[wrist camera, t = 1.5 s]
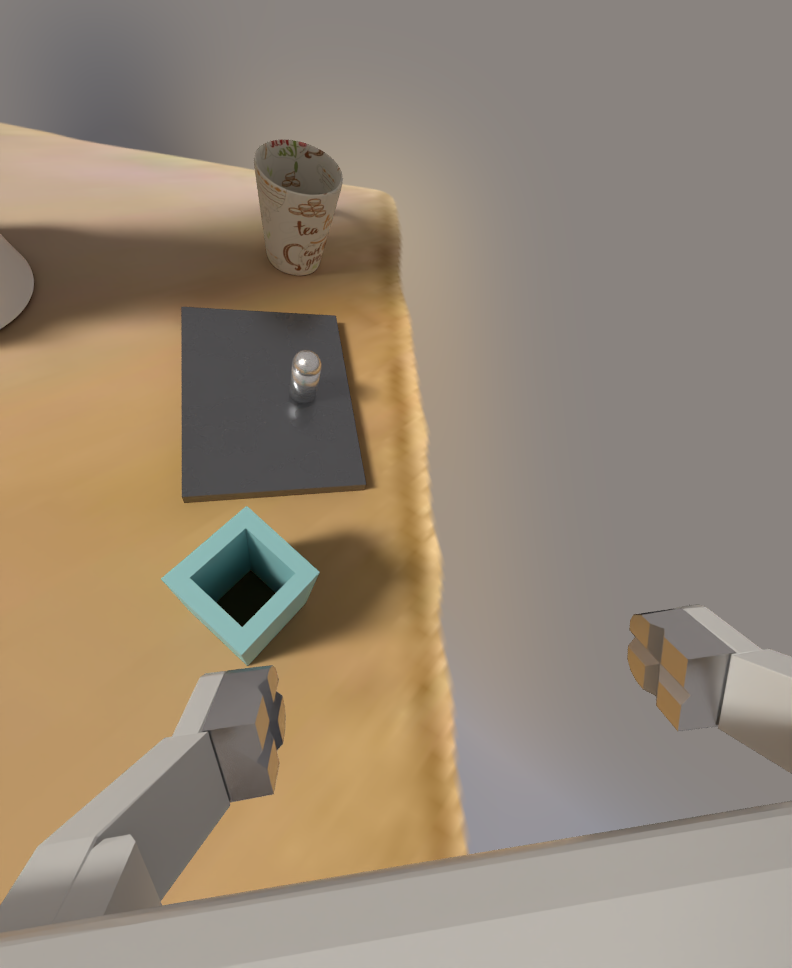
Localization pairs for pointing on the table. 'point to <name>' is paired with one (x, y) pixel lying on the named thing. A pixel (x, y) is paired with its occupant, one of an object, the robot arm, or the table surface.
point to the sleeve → (226, 564)
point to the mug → (296, 202)
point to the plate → (265, 406)
